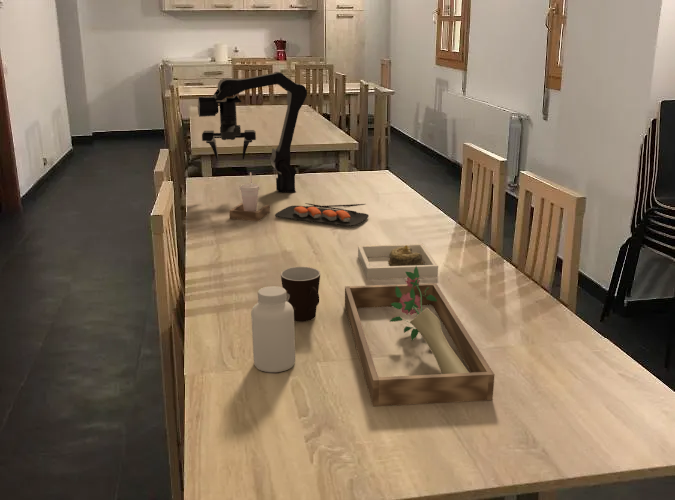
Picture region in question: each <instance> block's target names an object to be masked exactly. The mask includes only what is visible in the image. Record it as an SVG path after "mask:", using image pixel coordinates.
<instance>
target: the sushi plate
mask: <svg viewBox="0 0 675 500" xmlns="http://www.w3.org/2000/svg"><path fill="white" fill-rule="evenodd" d="M304 204H306V206H305V205H289V206H286V207H284V209H281V210H278V211H277V212H276V213H275V214H274V216H275V217H276V218H279V219H286V220H294V221H302V222H308V223H317V224H323V225H324V224H325V225H332V226H342V227H356V226H359V225H360V224H362V223H363V222H364V221H366V220H367V219H369V214H367V213H365V212H357V211H355V210H350V209H344V208H339V207H357V206H363V205H366V203H358V204H357V203H354V204H352V203H351V204H333V205H320V204H314V203H313V204H312V203H307V202H305V203H304ZM308 205H309V206H308ZM337 207H338V208H337Z"/></svg>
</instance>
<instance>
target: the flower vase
mask: <svg viewBox="0 0 675 500" xmlns="http://www.w3.org/2000/svg"><path fill="white" fill-rule="evenodd" d="M406 274H407V276H408V278H406V280H405V284H408V285H407V286H409V287H412V289H411V291H410V293H407V294H406V295H405V294H404V295H403V296H402V293H401V291H400V289H399V288H398V287H397V286H396V289H395V292H396V296H397V297H401V296H402V298H400V302H399V303H396V302H394V303H392V304H391V305H392V306H393V308H395V309H397V310H401V313H403V314H405V315H407V316H408V315H409V316H413V315H414V314H417V315H416V316H415V317H414V318H413V319H411V320H410V321H408V320H405V319H403V318H402V316H400V315H398V316H394V317H393V318H391V319H390V320H389V322H390V323H391V322H399V321H400V322H402V321H405V322H407V323H409V324H411V326H404V329H403V333H407V332H408V331H411V334H410V339H411V341H413V340H415V339H416V337H418V334H420V336H421V337H422V338H423V340H424V341H425V343H426V344H427V346H428V347H429V349H430V351H431V353H432V354H433V356H434V358H435V361H436V362H437V365H438V368H439V370H440V372H441V373H440V374H454V373H470V371H468V370H469V369H468V368H467V367H466V366H465V365H464V364H463V362H462V360H461V359H460V358H459V356H458V355H457V354H456V352H455V351H454V349H453V348H452V347H451V345H450V344H449V342H448V340H447V338H446V337H445V334H444V333H443V330H442V329H443V328H442V323H441V320H440V318H439V316H438V315H437V316H436V315H435V313H434V312H432V311H431V309H429V308H428V307H426V308H425V309H424V310H423V306H422V294H421V291H420V289H419V284H420V278H419V272H418V269H417V266H416V267H415V269H414V273H412V272H406ZM412 285H413V286H412ZM417 285H418V286H417ZM414 287H417V288H418V290H419V292H420V296H421V297H418V295H416V296H415V292H414V290H413V288H414ZM428 289H429V287H428V288H427V289H426V290H428ZM426 290H425V293H426ZM425 295H426V294H425ZM425 295H423V296H425ZM426 299H427V300H430V301H437V300H436V298H435V297H434V296H432V295H429V296H427V298H426ZM420 300H421V302H419V301H420ZM419 310H420V312H419ZM412 326H413V327H412Z"/></svg>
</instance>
